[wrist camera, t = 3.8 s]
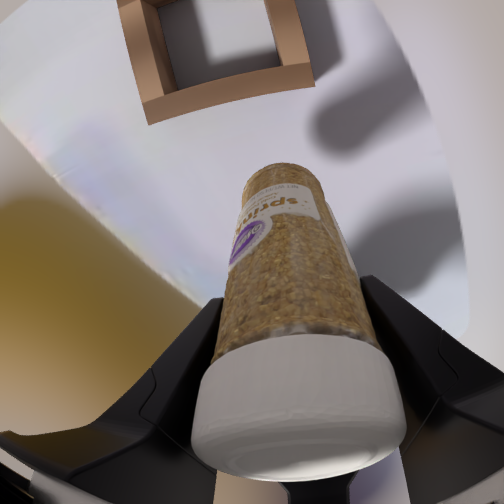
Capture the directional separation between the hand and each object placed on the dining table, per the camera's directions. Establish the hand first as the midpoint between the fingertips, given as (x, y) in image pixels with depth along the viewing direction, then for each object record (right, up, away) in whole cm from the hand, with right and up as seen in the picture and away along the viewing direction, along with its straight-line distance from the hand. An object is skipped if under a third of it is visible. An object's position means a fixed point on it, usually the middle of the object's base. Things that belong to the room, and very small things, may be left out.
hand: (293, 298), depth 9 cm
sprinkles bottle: (0, +4, +7) cm, 8 cm away
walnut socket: (-4, +16, +6) cm, 17 cm away
